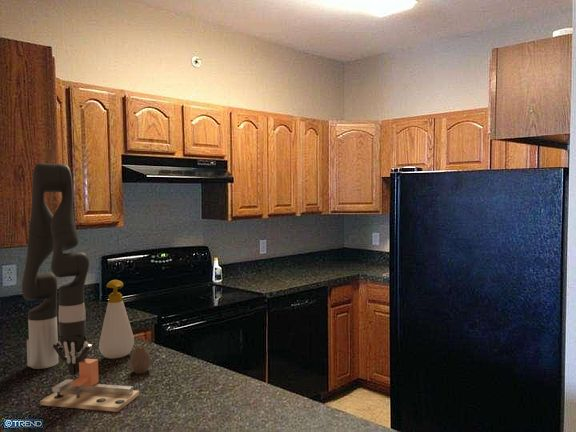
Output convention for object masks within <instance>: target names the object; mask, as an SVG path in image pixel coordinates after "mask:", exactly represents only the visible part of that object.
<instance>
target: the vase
mask: <svg viewBox="0 0 576 432" xmlns="http://www.w3.org/2000/svg"><path fill="white" fill-rule="evenodd" d="M129 364H130V365H129V366H130V369H131V371H132V372H134V373H135V374H145V373H146V372H147V371H148V370H150V367H151V365H152V356H151V355H150V352H149V351H148V350H147V349H146V347H145V345H142V344H141V345H137V346H136V347H135V349H134V351H133V352H132V354H131V356H130V360H129Z"/></svg>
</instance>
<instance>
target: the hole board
mask: <svg viewBox="0 0 576 432" xmlns="http://www.w3.org/2000/svg"><path fill="white" fill-rule="evenodd" d="M140 394H141V393H140V390H138V389H137V390H134V389H133V394H131V395H130V396H126V395H114V394H102V393H89V392H80V397H79V398H77V397H76V391H64V390H62V391H60V397H57V392H53V393H51V394H49V395H48V396H46V397H44V398H43V399H41V400H40V401H39V405H40V406H48V407H59V408H60V407H61V408H69V409H70V408H71V409H72V408H73V409H82V410H92V411H93V410H95V411H104V412H105V411H106V412H114V413H115V412H116V413H118V412H120V411H121V410H122V409H124V408H125V407H126V406H127V405H128V404H130V403H131V402H132V401H134V400H135V399H136V398H137V397H138V396H140Z"/></svg>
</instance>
